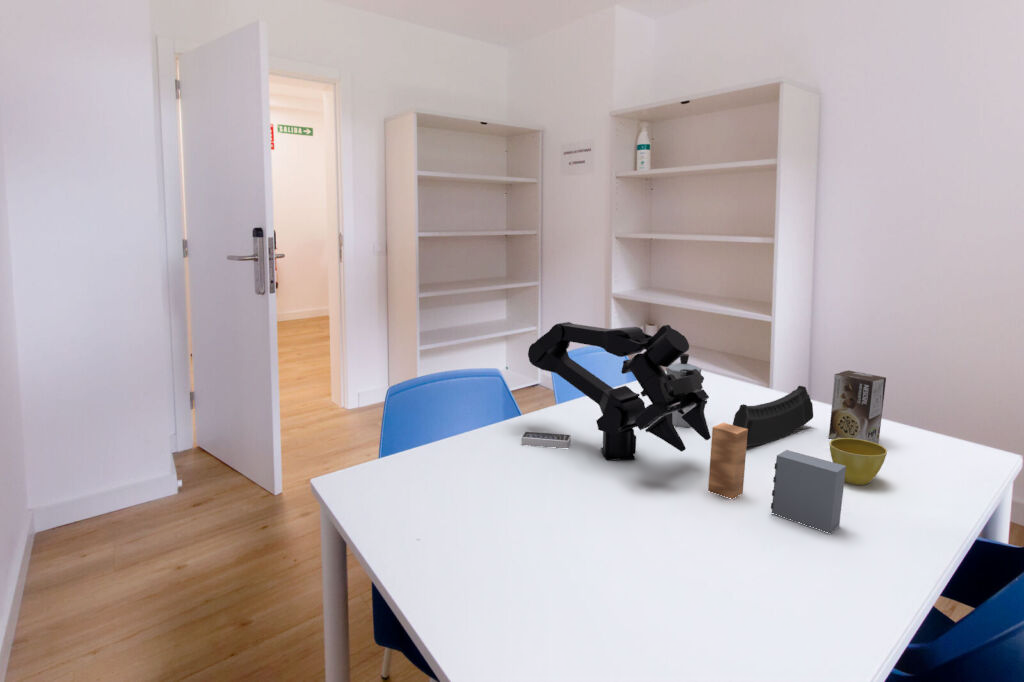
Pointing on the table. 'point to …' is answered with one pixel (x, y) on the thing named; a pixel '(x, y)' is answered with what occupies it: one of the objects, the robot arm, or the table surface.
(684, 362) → the coffee maker
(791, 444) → the table surface
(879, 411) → the coffee box
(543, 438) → the multiport hub
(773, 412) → the magazine
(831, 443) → the yellow bowl
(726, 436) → the wooden post
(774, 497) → the grey flat block
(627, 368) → the robot arm
